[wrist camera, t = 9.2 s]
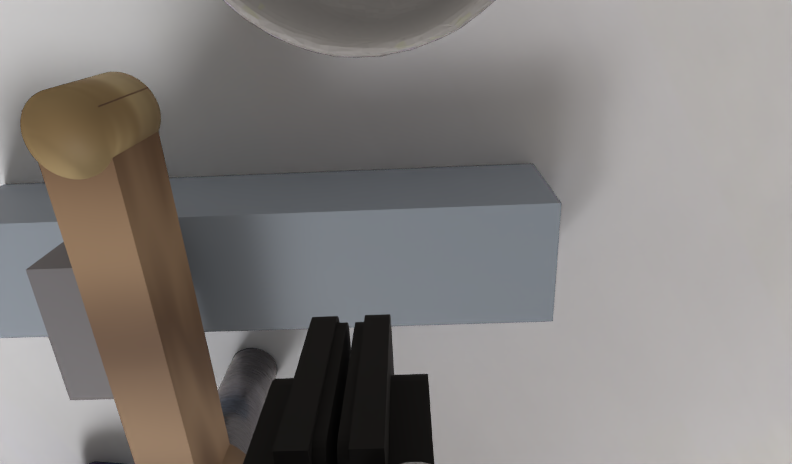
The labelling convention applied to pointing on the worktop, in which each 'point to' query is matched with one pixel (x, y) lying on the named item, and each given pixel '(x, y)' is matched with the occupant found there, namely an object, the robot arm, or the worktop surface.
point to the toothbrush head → (103, 463)
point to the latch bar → (130, 263)
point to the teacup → (359, 23)
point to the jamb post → (245, 394)
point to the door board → (308, 254)
